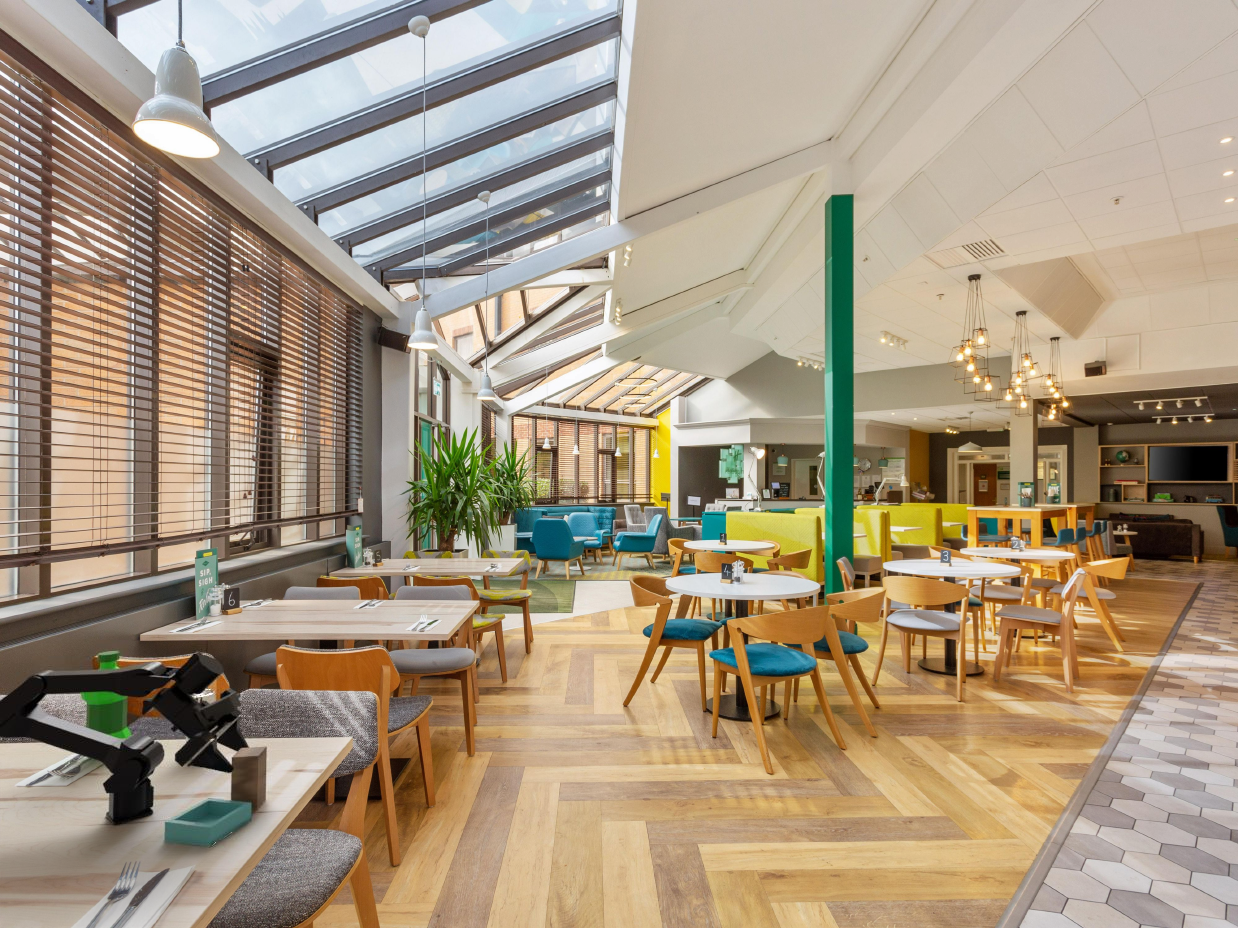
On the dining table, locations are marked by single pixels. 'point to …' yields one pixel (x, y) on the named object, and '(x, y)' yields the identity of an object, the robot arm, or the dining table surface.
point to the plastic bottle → (107, 704)
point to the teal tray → (207, 822)
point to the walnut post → (249, 776)
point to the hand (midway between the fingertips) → (240, 761)
